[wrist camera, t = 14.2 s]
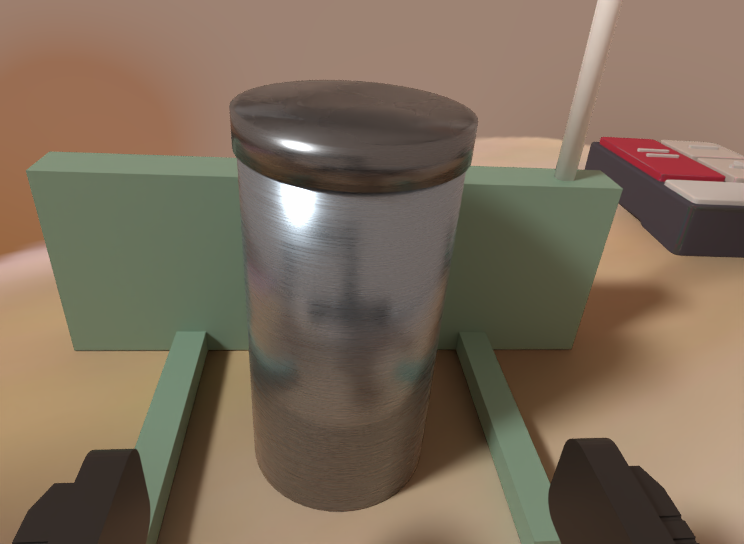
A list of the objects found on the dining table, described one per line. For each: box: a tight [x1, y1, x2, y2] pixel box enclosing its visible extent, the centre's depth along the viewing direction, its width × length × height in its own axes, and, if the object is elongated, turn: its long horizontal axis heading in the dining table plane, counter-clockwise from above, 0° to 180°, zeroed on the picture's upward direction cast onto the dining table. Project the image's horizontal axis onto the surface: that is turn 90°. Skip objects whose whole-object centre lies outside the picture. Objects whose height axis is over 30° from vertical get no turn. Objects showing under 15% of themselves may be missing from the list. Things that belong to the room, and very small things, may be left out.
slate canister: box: [229, 80, 478, 512], centre depth 17 cm, size 6×6×12 cm
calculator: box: [585, 137, 744, 258], centre depth 41 cm, size 11×4×15 cm
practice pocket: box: [26, 0, 623, 544], centre depth 16 cm, size 25×12×20 cm, turn 95°
